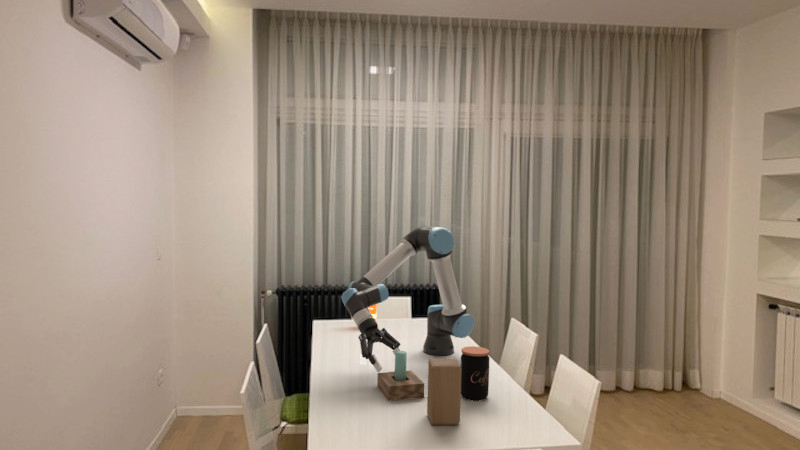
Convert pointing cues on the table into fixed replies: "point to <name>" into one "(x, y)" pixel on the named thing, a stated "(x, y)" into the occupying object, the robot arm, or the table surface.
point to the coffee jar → (474, 373)
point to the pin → (400, 365)
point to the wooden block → (444, 391)
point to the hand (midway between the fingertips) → (391, 366)
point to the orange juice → (373, 311)
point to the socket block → (400, 386)
